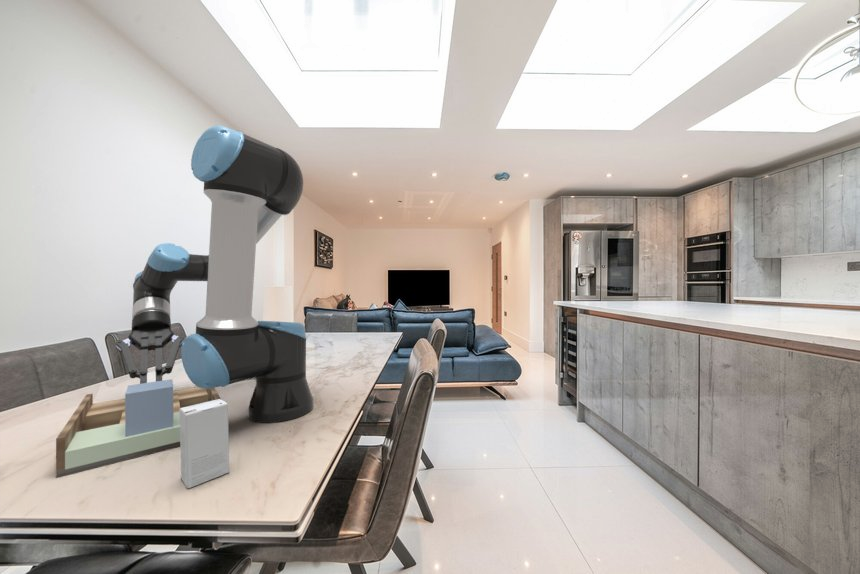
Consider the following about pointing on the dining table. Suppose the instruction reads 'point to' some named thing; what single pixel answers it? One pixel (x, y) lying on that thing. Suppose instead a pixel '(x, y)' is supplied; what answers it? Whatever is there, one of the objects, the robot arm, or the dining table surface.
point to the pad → (116, 443)
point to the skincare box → (204, 442)
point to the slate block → (148, 407)
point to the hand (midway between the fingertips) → (151, 401)
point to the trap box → (114, 414)
